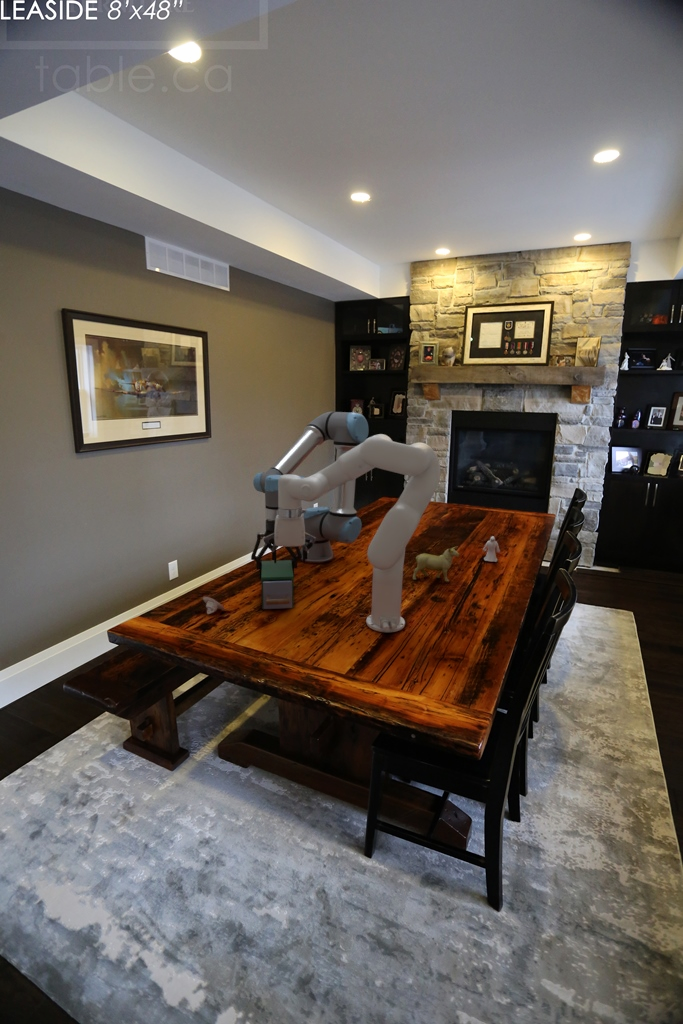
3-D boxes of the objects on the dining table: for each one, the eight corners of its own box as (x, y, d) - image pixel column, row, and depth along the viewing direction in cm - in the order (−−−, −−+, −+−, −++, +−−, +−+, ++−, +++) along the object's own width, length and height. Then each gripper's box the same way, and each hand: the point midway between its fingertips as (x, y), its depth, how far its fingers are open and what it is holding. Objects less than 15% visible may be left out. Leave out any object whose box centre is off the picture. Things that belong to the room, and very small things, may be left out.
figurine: (481, 562, 222) (483, 536, 219) (482, 556, 230) (484, 531, 227) (499, 564, 220) (501, 538, 217) (499, 558, 228) (501, 533, 225)
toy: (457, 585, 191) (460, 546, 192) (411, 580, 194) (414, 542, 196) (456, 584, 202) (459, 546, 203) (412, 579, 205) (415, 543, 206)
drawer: (292, 615, 165) (292, 588, 163) (263, 617, 164) (262, 590, 161) (290, 590, 185) (290, 566, 183) (263, 591, 184) (263, 566, 182)
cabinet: (293, 607, 173) (293, 576, 171) (261, 609, 172) (261, 577, 169) (291, 589, 189) (291, 560, 186) (262, 590, 188) (261, 560, 185)
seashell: (209, 622, 169) (193, 604, 168) (220, 611, 173) (205, 594, 172) (217, 618, 163) (201, 599, 162) (228, 607, 167) (213, 589, 166)
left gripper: (308, 515, 183) (308, 572, 188) (243, 516, 179) (245, 574, 185) (309, 521, 176) (309, 579, 181) (242, 522, 172) (244, 581, 178)
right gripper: (315, 509, 169) (314, 557, 173) (263, 509, 166) (263, 558, 170) (317, 515, 161) (316, 565, 166) (262, 515, 159) (263, 566, 163)
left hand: (277, 577), depth 183 cm, fingers closed on cabinet, 11 cm apart
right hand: (289, 561), depth 168 cm, fingers open, 9 cm apart
